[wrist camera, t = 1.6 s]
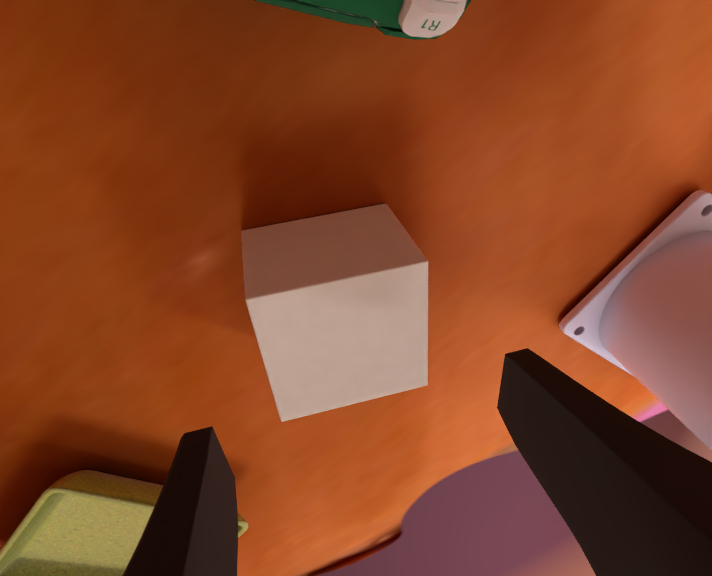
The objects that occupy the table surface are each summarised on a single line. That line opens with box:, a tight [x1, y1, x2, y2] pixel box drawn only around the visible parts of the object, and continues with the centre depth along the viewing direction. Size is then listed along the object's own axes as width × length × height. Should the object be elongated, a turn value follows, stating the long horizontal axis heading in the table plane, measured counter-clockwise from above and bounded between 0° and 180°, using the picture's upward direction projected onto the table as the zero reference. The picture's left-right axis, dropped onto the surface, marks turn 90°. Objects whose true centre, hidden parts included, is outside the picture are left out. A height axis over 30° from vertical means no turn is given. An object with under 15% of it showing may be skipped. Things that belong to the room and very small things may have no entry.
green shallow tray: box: [0, 470, 248, 576], centre depth 20 cm, size 9×9×2 cm
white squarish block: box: [241, 204, 428, 422], centre depth 15 cm, size 5×5×4 cm
